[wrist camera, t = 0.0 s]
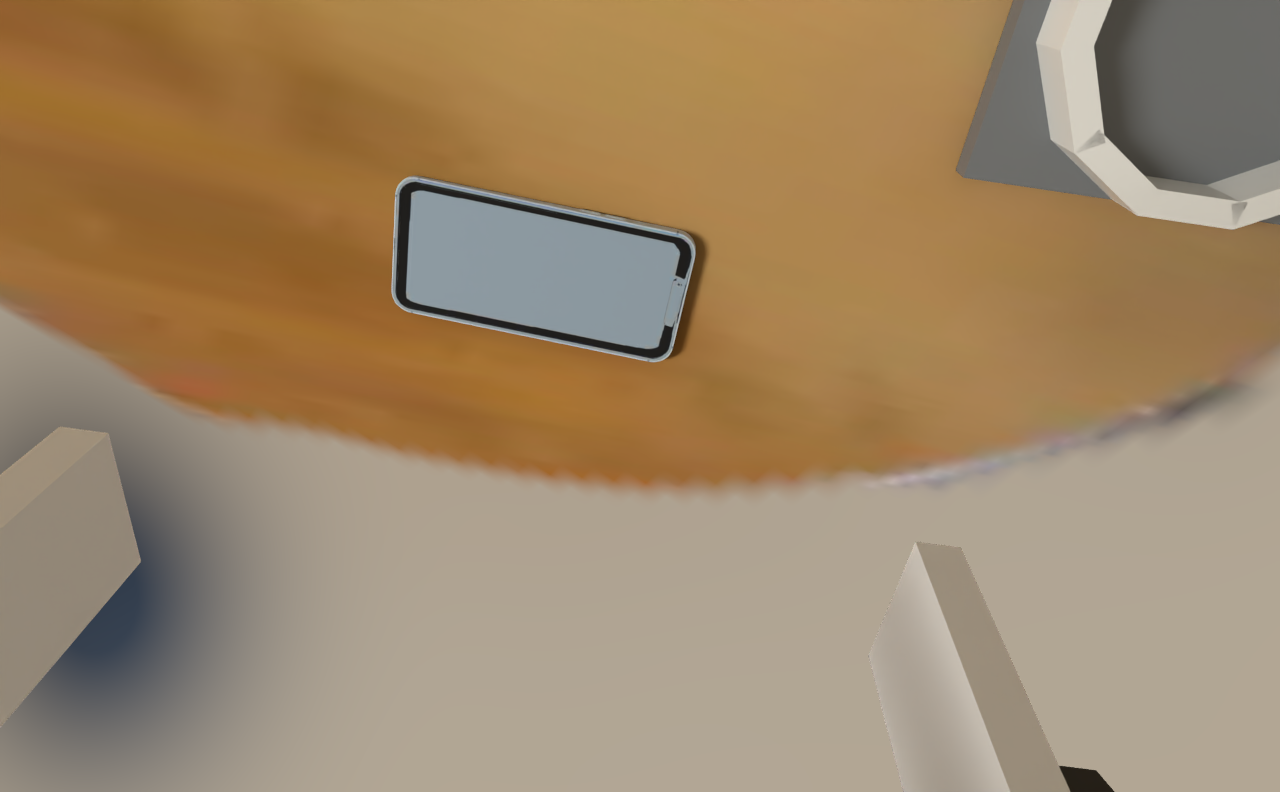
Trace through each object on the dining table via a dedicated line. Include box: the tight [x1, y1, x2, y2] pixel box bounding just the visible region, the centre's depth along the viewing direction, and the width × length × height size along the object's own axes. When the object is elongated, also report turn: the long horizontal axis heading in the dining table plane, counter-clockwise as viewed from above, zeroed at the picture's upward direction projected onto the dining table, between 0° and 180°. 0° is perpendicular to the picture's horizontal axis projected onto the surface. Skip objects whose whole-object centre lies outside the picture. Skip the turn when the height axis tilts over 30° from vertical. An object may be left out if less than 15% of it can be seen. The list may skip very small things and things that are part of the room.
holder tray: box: [956, 0, 1280, 230], centre depth 32 cm, size 16×18×4 cm
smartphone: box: [392, 176, 696, 362], centre depth 41 cm, size 7×1×15 cm
